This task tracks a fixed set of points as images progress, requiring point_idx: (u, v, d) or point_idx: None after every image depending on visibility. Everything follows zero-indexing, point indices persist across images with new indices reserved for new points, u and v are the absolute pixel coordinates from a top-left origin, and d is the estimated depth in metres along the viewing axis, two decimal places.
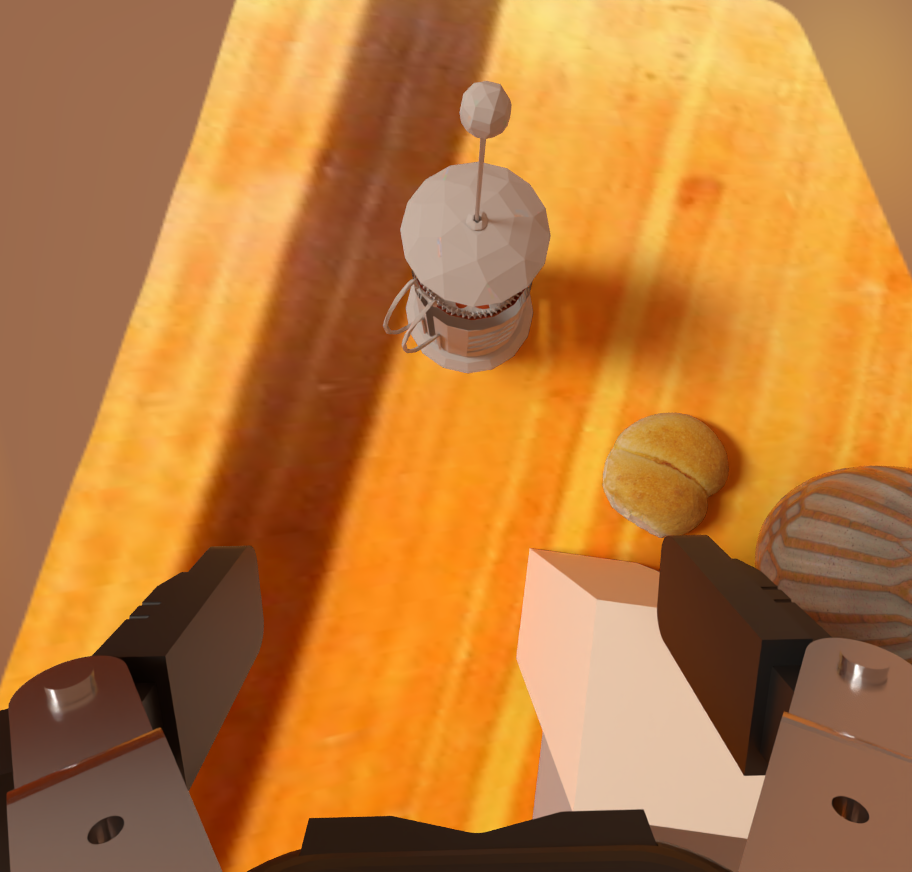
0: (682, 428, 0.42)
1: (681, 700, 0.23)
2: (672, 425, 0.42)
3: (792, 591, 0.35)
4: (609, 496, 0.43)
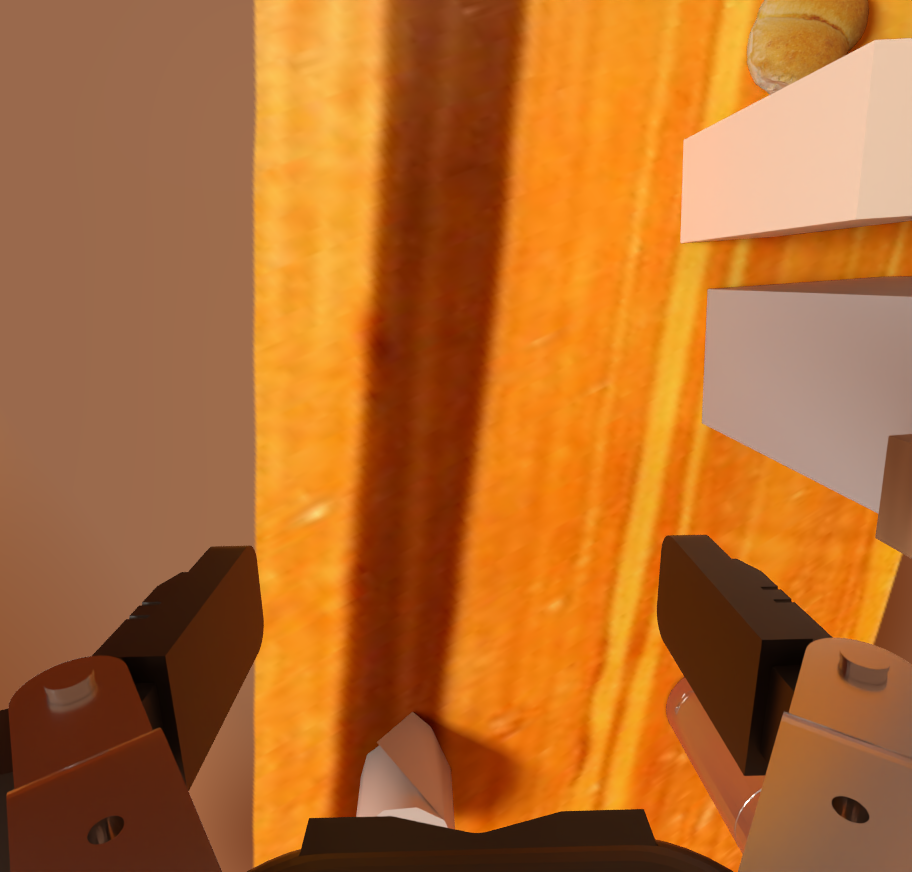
0: None
1: None
2: None
3: None
4: (755, 71, 0.46)
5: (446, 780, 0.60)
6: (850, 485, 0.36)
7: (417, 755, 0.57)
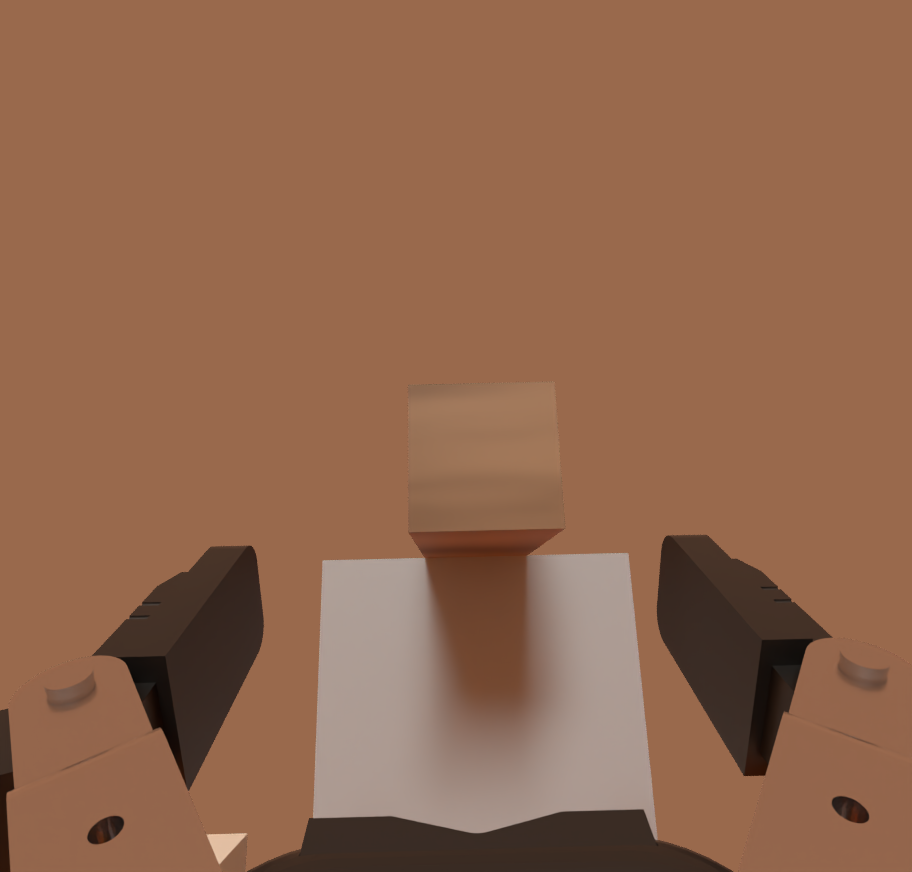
0: None
1: None
2: None
3: None
4: None
5: None
6: None
7: None
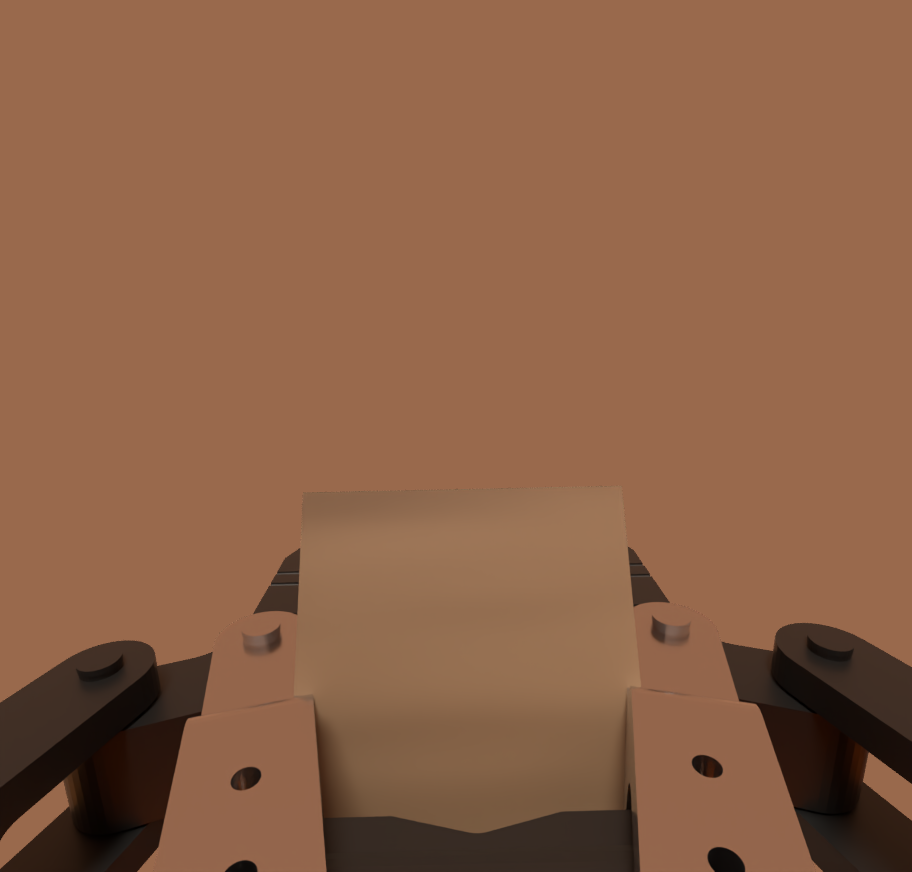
0: None
1: None
2: None
3: None
4: None
5: None
6: None
7: None
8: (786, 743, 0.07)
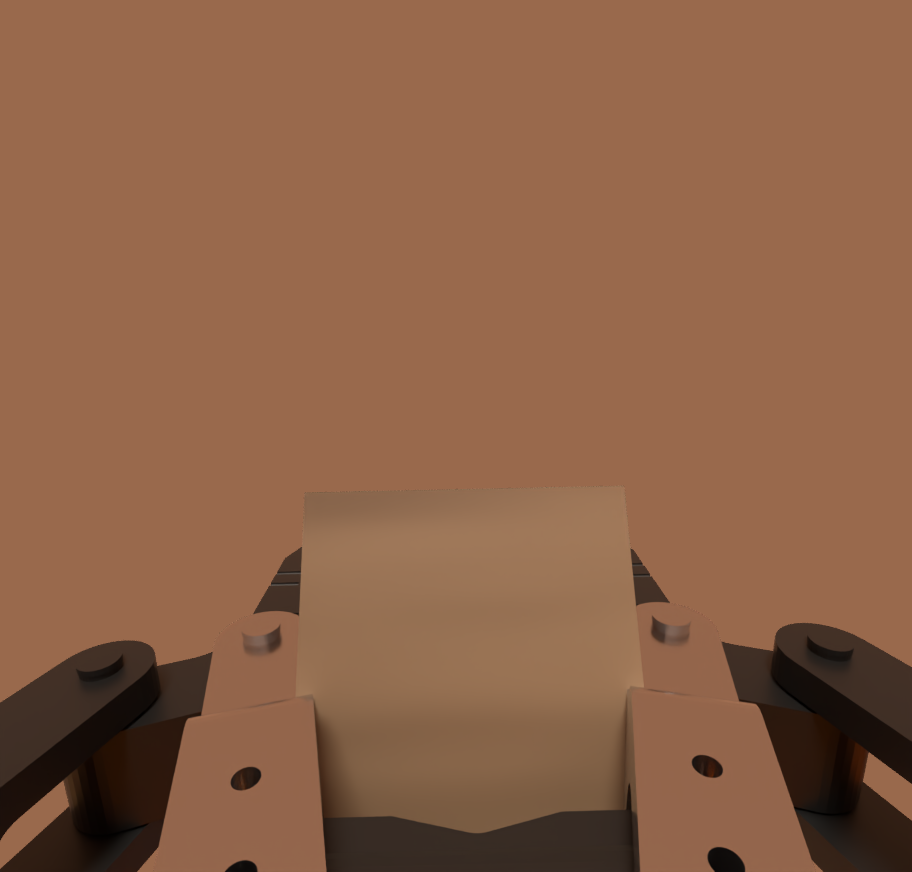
0: None
1: None
2: None
3: None
4: None
5: None
6: None
7: None
8: (787, 743, 0.07)
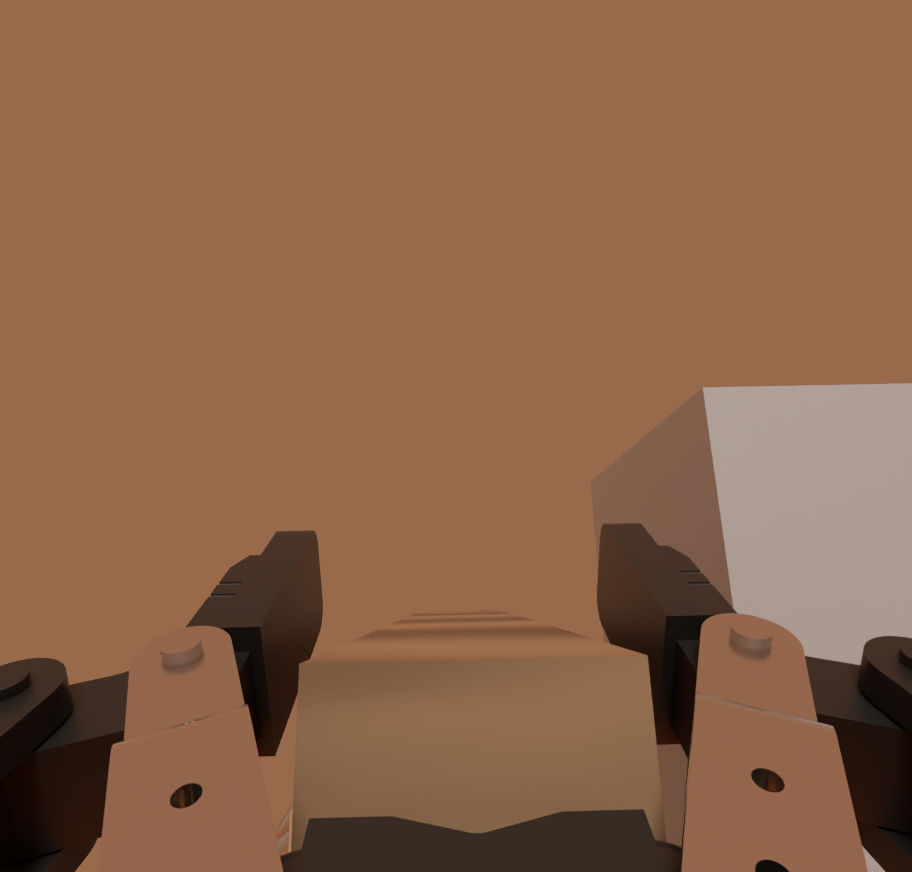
0: None
1: None
2: None
3: None
4: None
5: None
6: None
7: None
8: (881, 762, 0.07)
